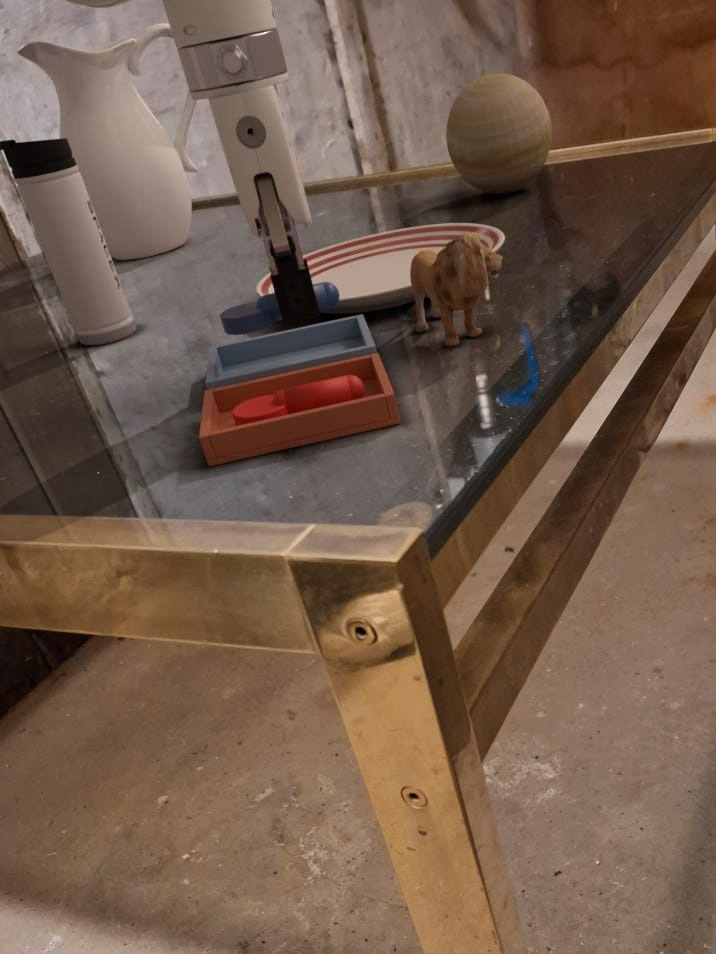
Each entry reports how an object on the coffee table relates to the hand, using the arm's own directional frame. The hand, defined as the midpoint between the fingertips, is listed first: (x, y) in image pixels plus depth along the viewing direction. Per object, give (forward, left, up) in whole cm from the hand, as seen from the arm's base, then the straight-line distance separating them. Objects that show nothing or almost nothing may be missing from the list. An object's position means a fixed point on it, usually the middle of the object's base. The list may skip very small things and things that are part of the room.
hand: (300, 313), depth 79 cm
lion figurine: (+13, +1, -5) cm, 14 cm away
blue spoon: (-2, 0, 0) cm, 2 cm away
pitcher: (-18, +74, -5) cm, 77 cm away
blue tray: (-2, 0, -5) cm, 5 cm away
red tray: (-2, -12, -5) cm, 13 cm away
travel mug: (-22, +26, -5) cm, 35 cm away
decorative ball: (+32, +61, -5) cm, 70 cm away
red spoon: (-2, -12, -4) cm, 13 cm away
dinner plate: (+9, +22, -5) cm, 25 cm away
